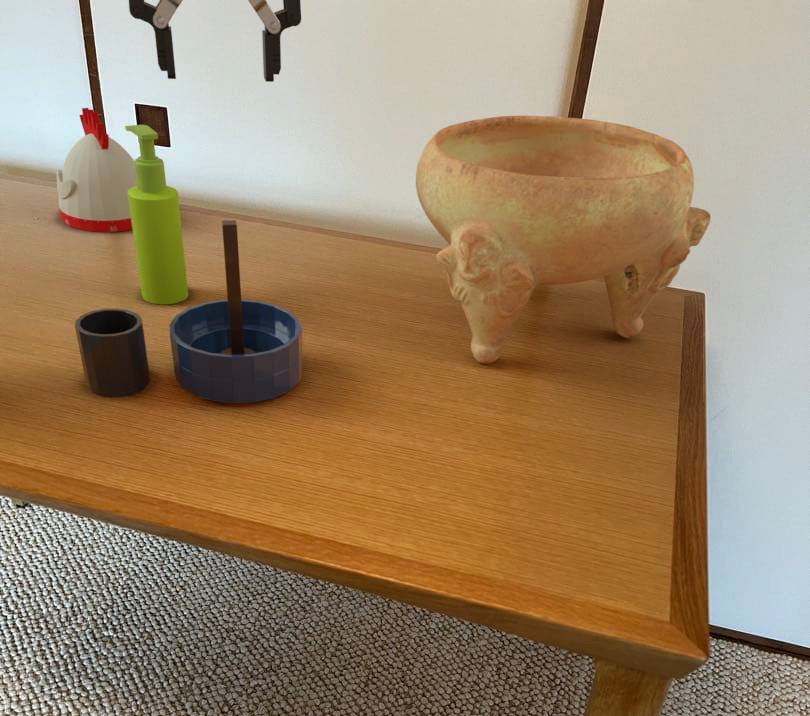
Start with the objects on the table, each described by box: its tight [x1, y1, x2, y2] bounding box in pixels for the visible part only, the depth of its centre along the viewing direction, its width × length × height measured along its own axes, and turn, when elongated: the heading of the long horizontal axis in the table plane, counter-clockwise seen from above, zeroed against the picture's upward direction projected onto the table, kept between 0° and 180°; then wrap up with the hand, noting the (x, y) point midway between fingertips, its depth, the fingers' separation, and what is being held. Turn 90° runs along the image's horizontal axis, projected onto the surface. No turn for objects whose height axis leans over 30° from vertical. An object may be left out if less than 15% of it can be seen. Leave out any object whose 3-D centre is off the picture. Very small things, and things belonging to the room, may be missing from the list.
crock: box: [74, 307, 151, 398], centre depth 87 cm, size 7×7×7 cm
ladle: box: [220, 219, 255, 355], centre depth 86 cm, size 4×4×16 cm
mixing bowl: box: [169, 298, 303, 404], centre depth 90 cm, size 14×14×6 cm
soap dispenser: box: [124, 124, 189, 305], centre depth 101 cm, size 6×7×20 cm
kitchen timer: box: [55, 107, 137, 233], centre depth 123 cm, size 14×14×15 cm
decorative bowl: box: [415, 115, 711, 365], centre depth 101 cm, size 34×35×23 cm
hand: (220, 78), depth 73 cm, fingers open, 8 cm apart
